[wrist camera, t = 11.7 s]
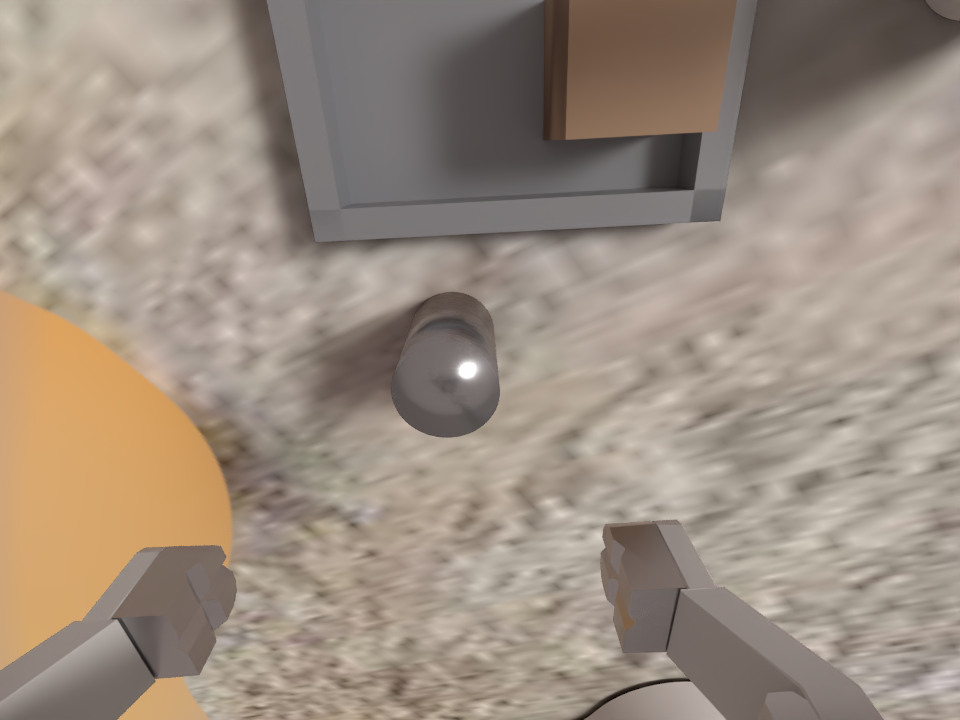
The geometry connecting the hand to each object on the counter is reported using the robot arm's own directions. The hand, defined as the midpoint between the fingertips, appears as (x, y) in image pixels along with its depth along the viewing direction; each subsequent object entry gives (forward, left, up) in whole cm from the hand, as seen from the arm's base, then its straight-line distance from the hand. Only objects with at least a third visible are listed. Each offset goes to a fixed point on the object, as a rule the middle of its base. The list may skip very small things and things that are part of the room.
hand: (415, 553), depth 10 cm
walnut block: (+10, -7, -13) cm, 18 cm away
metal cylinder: (0, 0, -14) cm, 14 cm away
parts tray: (+10, -3, -14) cm, 17 cm away
